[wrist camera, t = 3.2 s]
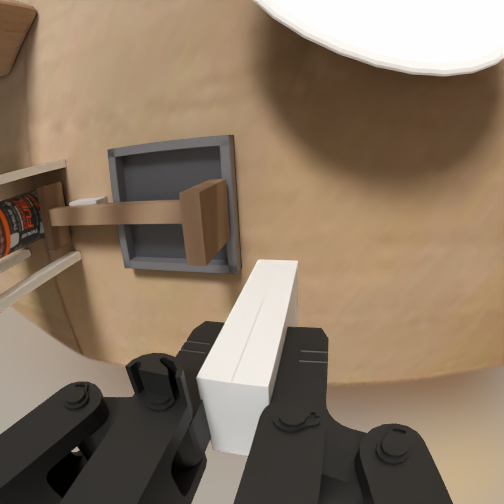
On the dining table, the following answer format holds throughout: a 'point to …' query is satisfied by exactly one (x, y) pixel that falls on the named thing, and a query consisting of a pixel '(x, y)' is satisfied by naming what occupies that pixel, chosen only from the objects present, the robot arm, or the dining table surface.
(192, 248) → the wooden dumbbell-shaped bar
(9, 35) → the wooden block
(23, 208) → the supplement bottle
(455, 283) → the dining table surface
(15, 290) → the tunnel
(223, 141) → the grey shallow square tray
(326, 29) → the bowl
